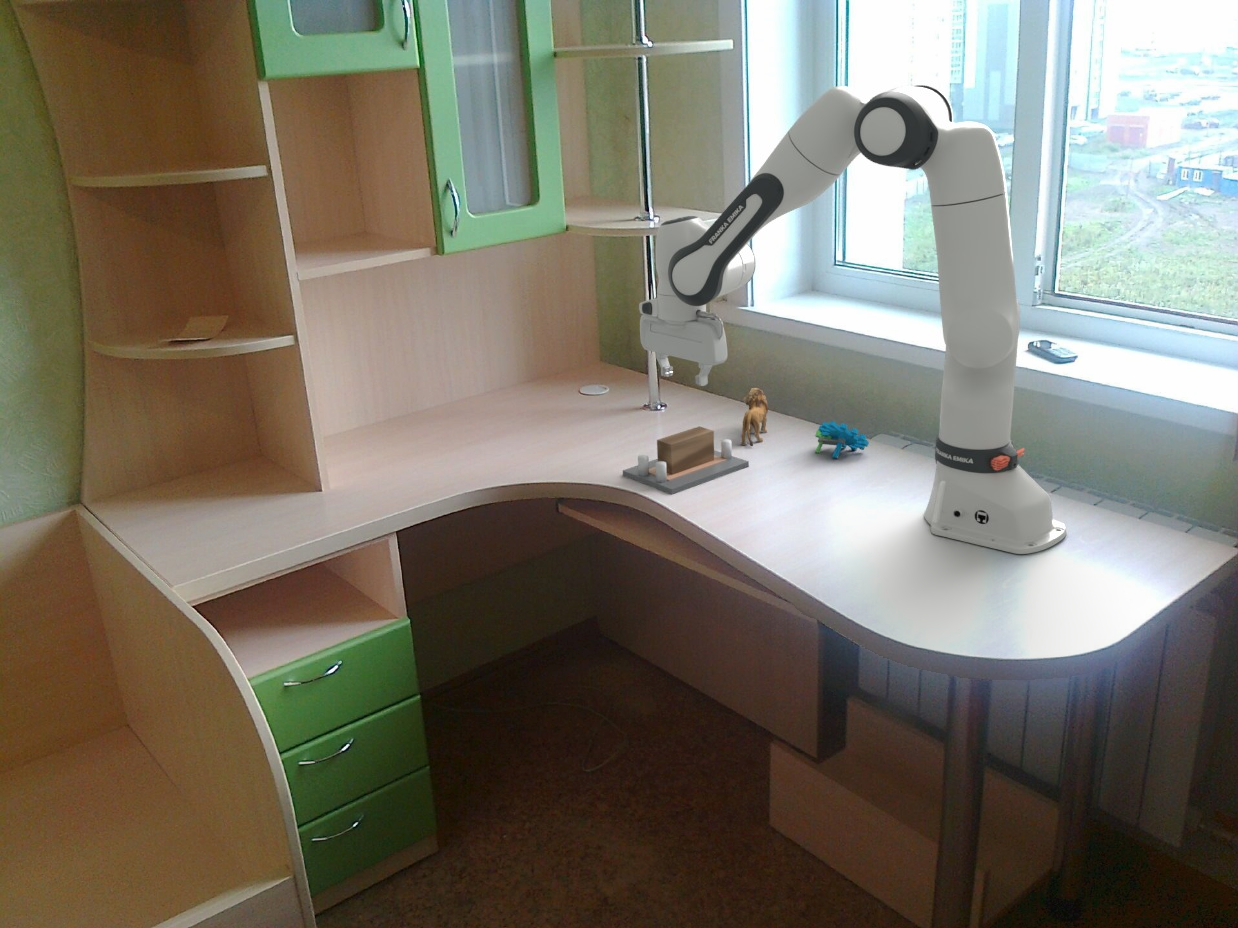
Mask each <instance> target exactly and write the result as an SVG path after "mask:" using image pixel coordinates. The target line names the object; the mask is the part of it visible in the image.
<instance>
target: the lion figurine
mask: <svg viewBox="0 0 1238 928" xmlns="http://www.w3.org/2000/svg"><path fill="white" fill-rule="evenodd" d="M743 402H744V403H745V405H746V406H748V410H747V411H746V412H745V413H744V417H743V420H742V432H741V442H740V445H742V446H745V445H747V441H746V437H747V440H748V442H749V446H751V447H754V442H753V441H752V439H751V435H750V434H754V433H755V434H754V436H755V439H756V441H757V442H760V443H762V442H763V441H764V439H763V438H762V437H760V431H761V433H764V434H765V433H768V430H767V429H766V427H767V420H768V418H767V414H768V412H769V405H768V401H767V396H766V395H765V393H764V391H763V390H762V389H760V388H758V387H752V388H750V391H749V392H748V393H747V395H745V396H743Z"/></svg>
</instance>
